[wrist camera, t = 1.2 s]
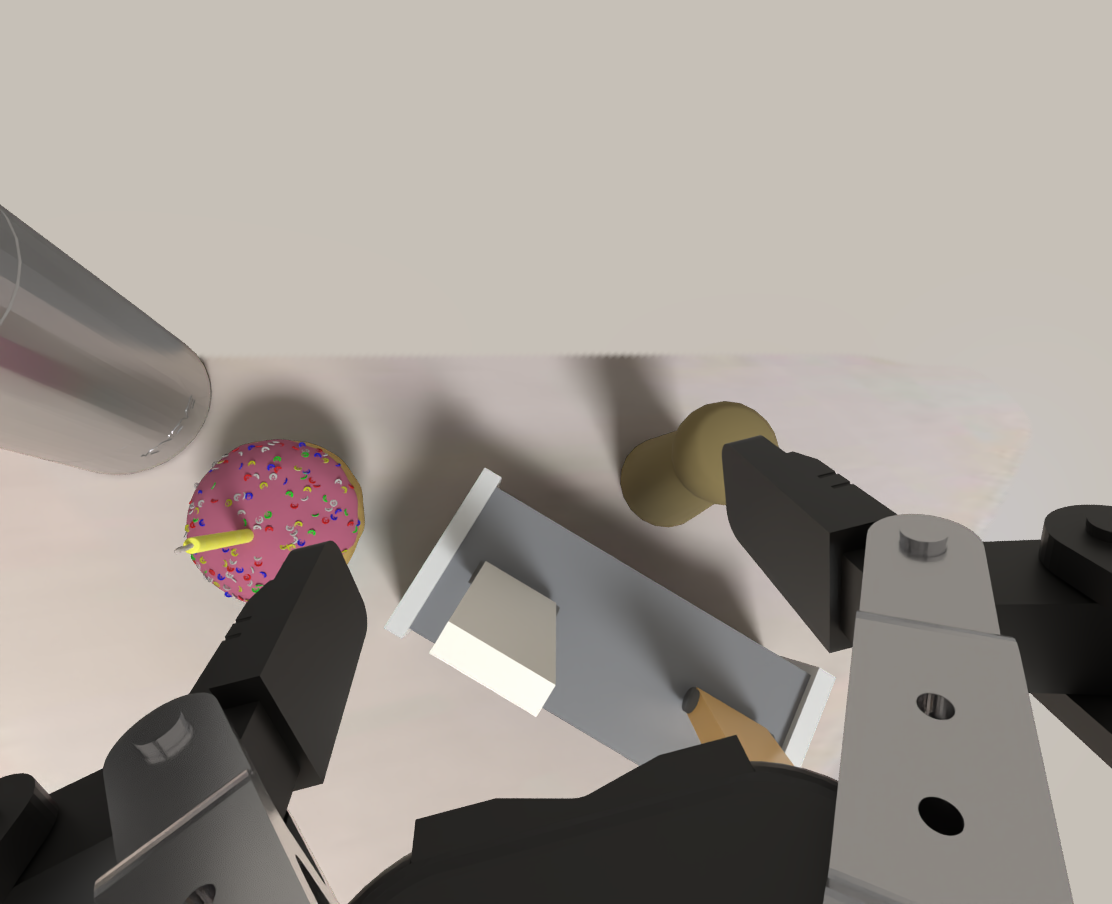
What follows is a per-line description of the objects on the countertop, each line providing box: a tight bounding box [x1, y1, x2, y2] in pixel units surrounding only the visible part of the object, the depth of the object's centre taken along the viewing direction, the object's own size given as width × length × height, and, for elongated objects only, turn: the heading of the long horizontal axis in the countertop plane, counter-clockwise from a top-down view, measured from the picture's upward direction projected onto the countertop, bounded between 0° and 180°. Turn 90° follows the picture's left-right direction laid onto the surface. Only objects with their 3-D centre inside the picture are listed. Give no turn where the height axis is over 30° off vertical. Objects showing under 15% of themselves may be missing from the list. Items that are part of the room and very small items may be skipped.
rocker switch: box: [430, 560, 560, 717], centre depth 22 cm, size 4×1×9 cm, turn 60°
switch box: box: [384, 468, 836, 768], centre depth 30 cm, size 21×9×7 cm, turn 60°
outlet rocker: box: [682, 687, 794, 766], centre depth 22 cm, size 4×1×9 cm, turn 61°
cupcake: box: [174, 439, 365, 602], centre depth 27 cm, size 9×8×12 cm
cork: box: [620, 401, 779, 527], centre depth 31 cm, size 6×6×11 cm
